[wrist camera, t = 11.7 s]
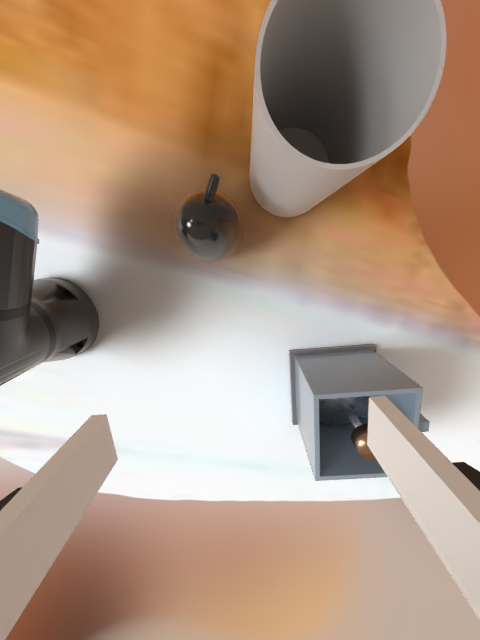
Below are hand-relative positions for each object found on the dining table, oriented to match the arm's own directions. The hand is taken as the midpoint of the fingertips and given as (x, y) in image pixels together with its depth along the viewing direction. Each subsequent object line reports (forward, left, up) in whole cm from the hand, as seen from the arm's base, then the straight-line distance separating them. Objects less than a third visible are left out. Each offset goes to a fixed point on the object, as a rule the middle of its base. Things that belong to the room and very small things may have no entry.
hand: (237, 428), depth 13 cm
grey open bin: (+16, -18, -35) cm, 42 cm away
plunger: (+16, -18, -31) cm, 39 cm away
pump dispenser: (-4, +13, -35) cm, 37 cm away
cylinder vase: (+9, +20, -35) cm, 41 cm away
